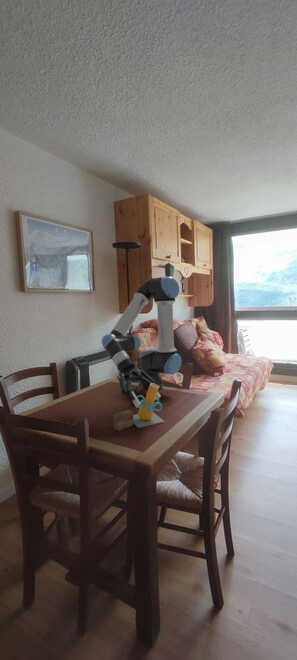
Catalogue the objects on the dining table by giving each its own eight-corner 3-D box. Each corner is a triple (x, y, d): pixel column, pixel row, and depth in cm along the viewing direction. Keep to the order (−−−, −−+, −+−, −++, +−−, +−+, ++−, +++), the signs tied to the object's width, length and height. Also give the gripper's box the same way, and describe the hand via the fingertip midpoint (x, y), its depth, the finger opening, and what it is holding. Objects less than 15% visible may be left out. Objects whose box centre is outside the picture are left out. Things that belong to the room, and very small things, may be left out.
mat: (152, 412, 139) (152, 411, 139) (164, 422, 127) (164, 421, 127) (127, 417, 134) (127, 415, 134) (137, 428, 122) (137, 426, 122)
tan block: (114, 429, 122) (113, 415, 122) (128, 423, 128) (128, 409, 127) (119, 431, 120) (118, 416, 120) (133, 424, 126) (132, 410, 125)
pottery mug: (137, 396, 165) (145, 384, 164) (150, 406, 160) (157, 393, 159) (125, 397, 155) (133, 383, 154) (138, 408, 150) (146, 394, 149)
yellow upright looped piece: (141, 425, 122) (152, 392, 119) (126, 411, 129) (136, 380, 126) (162, 421, 130) (172, 390, 127) (146, 408, 138) (156, 379, 135)
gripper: (138, 363, 148) (162, 399, 139) (99, 372, 130) (124, 414, 121) (145, 353, 144) (171, 390, 135) (106, 362, 126) (133, 404, 117)
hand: (149, 402), depth 128 cm, fingers closed on yellow upright looped piece, 12 cm apart
